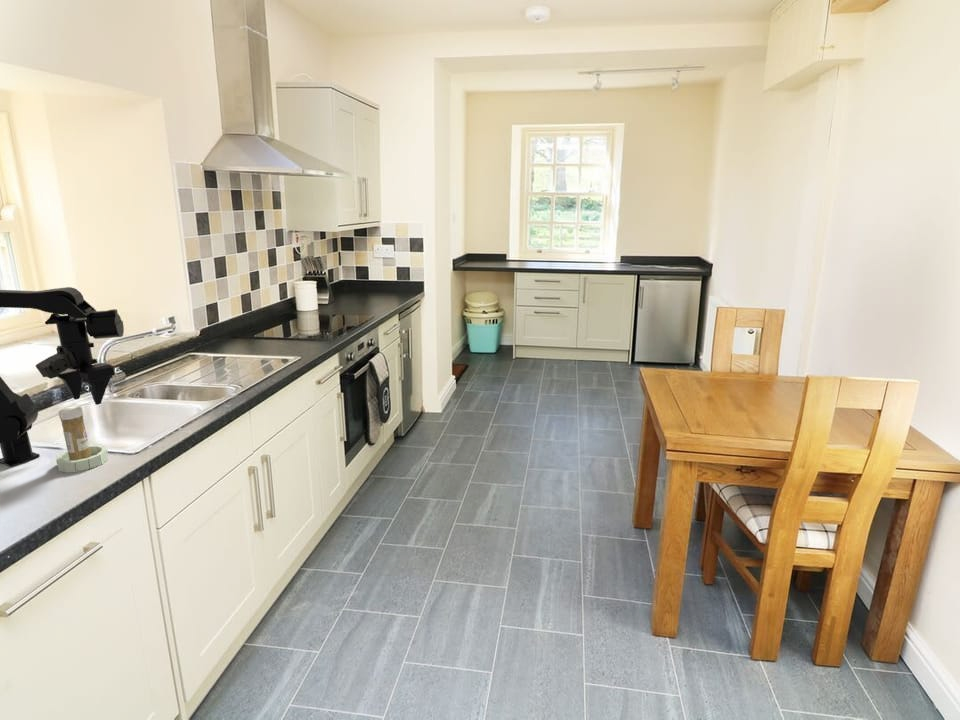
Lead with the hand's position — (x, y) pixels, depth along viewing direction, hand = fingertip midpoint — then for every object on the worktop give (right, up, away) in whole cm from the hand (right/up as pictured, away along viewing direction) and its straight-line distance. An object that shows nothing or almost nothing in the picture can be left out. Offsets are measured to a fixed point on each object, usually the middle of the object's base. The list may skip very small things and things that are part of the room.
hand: (87, 401), depth 143 cm
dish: (+2, -14, -4) cm, 15 cm away
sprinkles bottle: (+1, -14, -4) cm, 15 cm away
